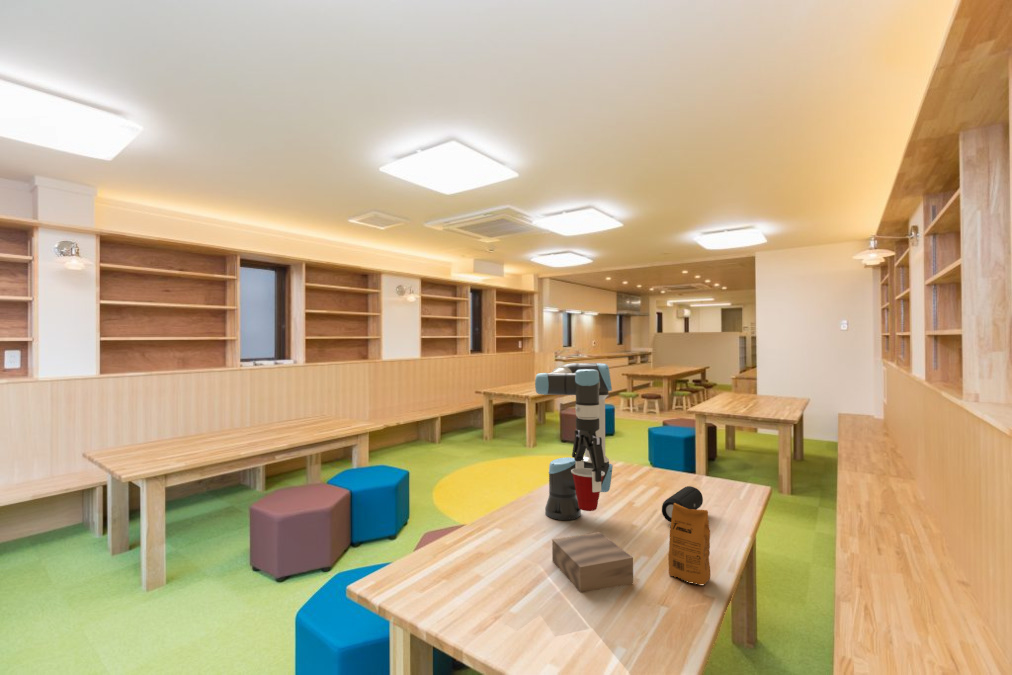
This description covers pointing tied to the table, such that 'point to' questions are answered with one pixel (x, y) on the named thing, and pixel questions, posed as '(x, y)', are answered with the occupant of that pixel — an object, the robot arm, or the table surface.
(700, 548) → the coffee package
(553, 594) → the table surface
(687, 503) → the portable speaker
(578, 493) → the plastic cup
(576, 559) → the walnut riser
